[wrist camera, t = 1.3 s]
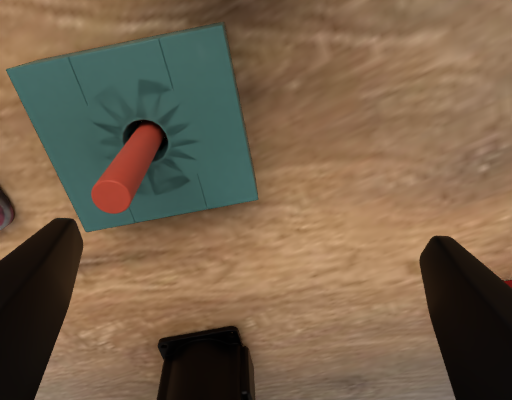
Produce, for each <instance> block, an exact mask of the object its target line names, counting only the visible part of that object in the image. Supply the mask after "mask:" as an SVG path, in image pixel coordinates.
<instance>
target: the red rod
mask: <svg viewBox="0 0 512 400" xmlns="http://www.w3.org/2000/svg"><path fill="white" fill-rule="evenodd" d="M165 134H166V133H165V132H164V131H163V129H162V128H161V127H160V126H159V125H158V124H156V123H154V122H153V121H148V120H143V121H142V123H141V124H140V125H139V127H138V128H137V129H136V131H135V132H134V133H133V134H132V136H131V137H130V138H129V140H128V141H127V142H126V144H125V145H124V146H123V148H122V149H121V150H120V152H119V153H118V154H117V156H116V157H115V158H114V160H113V161H112V162H111V164H110V165H109V166H108V168H107V169H106V170H105V172H104V173H103V174H102V176H101V177H100V178H99V180H98V181H97V182H96V184H95V185H94V186H93V188H92V191H91V196H92V200H93V202H94V204H95V205H96V206H97V207H98V208H99V209H100V210H102V211H104V212H107V213H111V214H117V213H121V212H123V211H125V210H126V209H127V208H128V207H129V206H130V204H131V202H132V200H133V198H134V196H135V194H136V192H137V190H138V188H139V186H140V184H141V182H142V180H143V178H144V176H145V174H146V172H147V170H148V168H149V166H150V164H151V162H152V160H153V158H154V156H155V154H156V152H157V150H158V148H159V146H160V144H161V142H162V140H163V138H164V136H165Z"/></svg>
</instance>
